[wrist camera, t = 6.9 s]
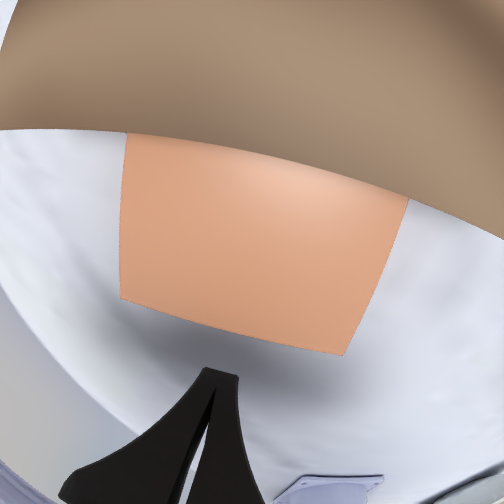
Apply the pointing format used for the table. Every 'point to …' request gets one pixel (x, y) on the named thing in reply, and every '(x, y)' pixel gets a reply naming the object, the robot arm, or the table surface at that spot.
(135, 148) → the peach block
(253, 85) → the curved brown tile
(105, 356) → the table surface
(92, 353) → the table surface
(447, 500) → the serving bowl
